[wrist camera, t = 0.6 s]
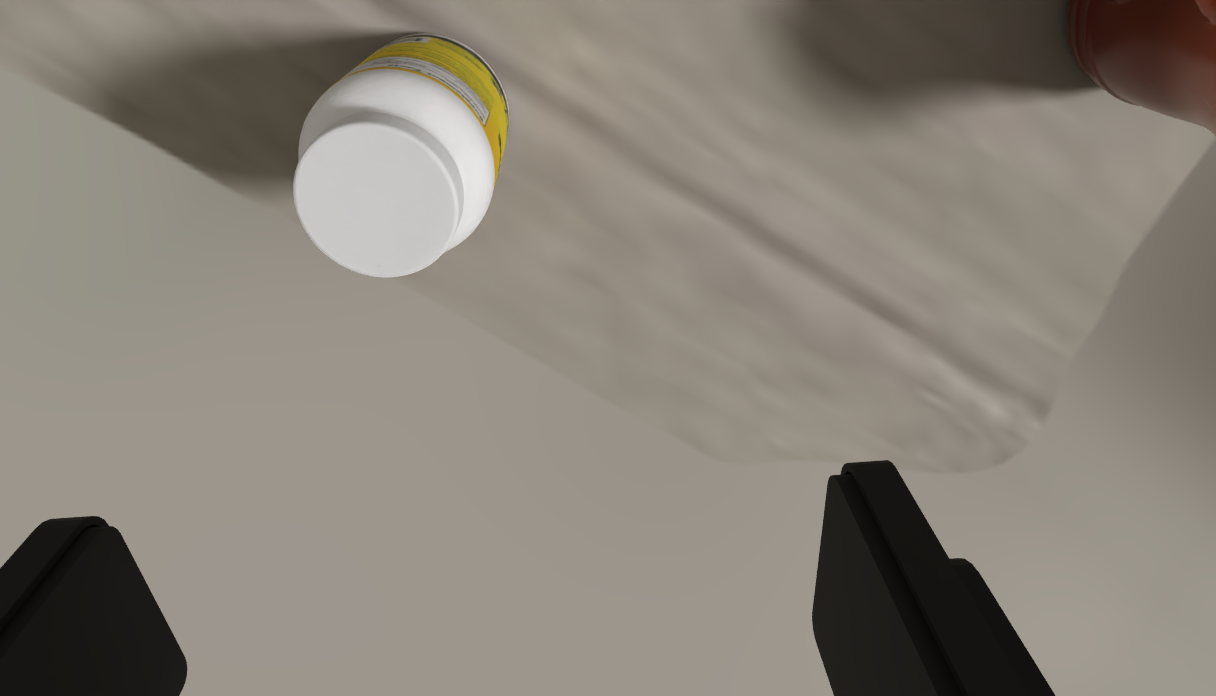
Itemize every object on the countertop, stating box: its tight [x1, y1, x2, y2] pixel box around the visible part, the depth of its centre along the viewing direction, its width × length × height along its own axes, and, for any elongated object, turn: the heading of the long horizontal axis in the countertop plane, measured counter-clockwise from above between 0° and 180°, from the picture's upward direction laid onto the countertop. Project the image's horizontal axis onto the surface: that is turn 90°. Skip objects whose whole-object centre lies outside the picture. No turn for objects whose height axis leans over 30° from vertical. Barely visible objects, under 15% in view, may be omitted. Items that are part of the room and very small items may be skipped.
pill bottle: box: [293, 33, 509, 277], centre depth 26 cm, size 6×6×11 cm
